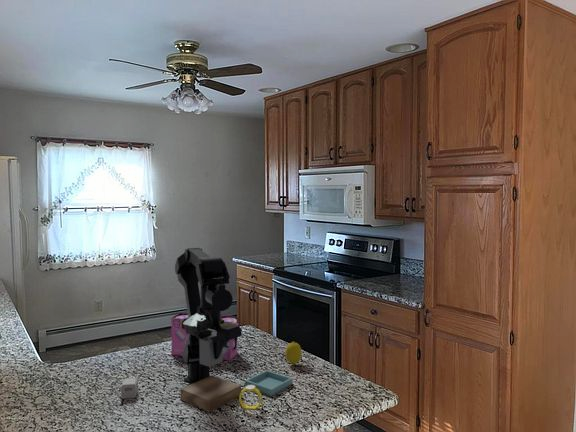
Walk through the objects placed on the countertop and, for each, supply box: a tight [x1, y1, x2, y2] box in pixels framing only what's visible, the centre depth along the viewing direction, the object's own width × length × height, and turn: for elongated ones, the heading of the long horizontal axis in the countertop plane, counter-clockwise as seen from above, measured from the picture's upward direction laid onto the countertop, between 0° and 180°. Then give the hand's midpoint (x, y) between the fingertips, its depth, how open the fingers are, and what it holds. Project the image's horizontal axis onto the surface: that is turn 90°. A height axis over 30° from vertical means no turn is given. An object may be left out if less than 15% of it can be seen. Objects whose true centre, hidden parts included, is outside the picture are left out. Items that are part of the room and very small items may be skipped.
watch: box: [238, 385, 263, 410], centre depth 122 cm, size 6×3×6 cm, turn 85°
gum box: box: [170, 312, 240, 361], centre depth 162 cm, size 24×8×14 cm, turn 77°
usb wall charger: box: [120, 377, 139, 400], centre depth 131 cm, size 4×7×4 cm, turn 11°
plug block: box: [199, 335, 223, 368], centre depth 127 cm, size 4×5×7 cm
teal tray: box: [244, 369, 293, 397], centre depth 136 cm, size 10×10×2 cm
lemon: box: [284, 341, 303, 366], centre depth 153 cm, size 6×6×8 cm
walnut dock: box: [179, 374, 242, 412], centre depth 128 cm, size 12×12×3 cm
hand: (211, 357), depth 127 cm, fingers closed on plug block, 4 cm apart
